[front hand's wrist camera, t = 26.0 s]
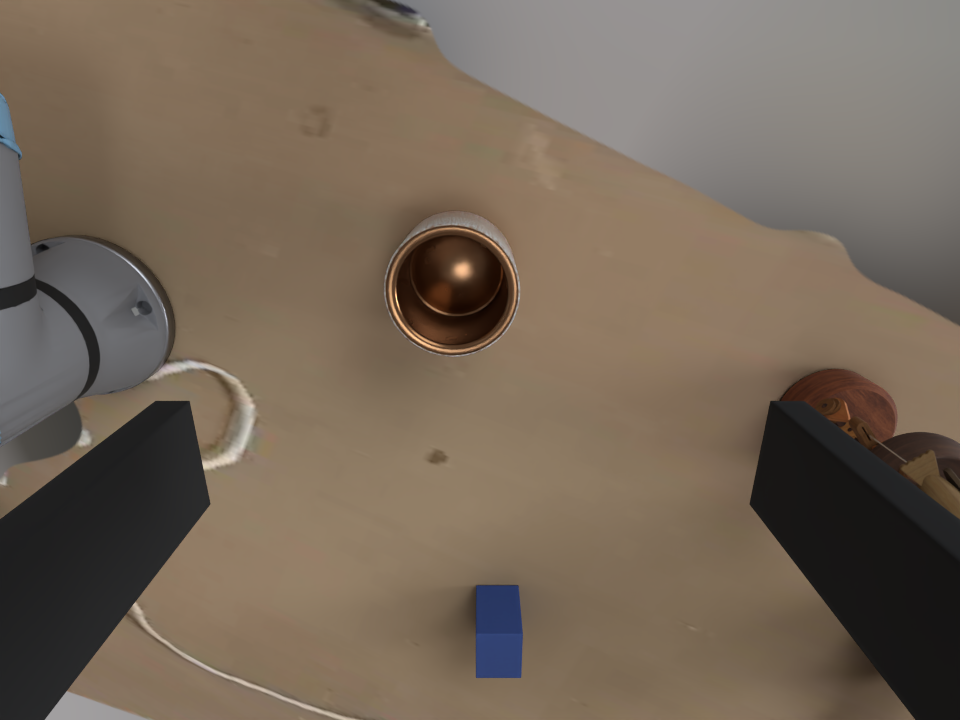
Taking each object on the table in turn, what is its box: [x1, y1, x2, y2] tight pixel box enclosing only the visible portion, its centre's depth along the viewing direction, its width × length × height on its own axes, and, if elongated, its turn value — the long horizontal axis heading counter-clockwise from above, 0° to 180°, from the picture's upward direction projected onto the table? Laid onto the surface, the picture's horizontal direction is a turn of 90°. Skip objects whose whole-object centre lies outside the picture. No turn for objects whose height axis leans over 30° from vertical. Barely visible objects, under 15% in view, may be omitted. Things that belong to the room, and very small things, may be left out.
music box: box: [781, 369, 960, 519], centre depth 48 cm, size 15×11×20 cm
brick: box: [476, 585, 523, 678], centre depth 63 cm, size 5×6×7 cm
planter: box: [384, 211, 520, 357], centre depth 47 cm, size 11×11×10 cm
